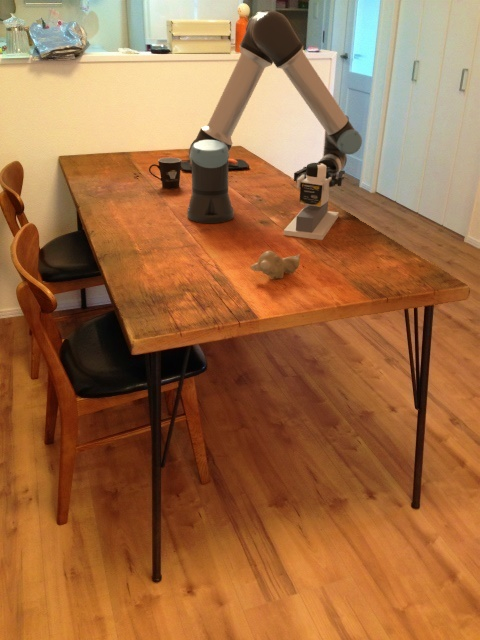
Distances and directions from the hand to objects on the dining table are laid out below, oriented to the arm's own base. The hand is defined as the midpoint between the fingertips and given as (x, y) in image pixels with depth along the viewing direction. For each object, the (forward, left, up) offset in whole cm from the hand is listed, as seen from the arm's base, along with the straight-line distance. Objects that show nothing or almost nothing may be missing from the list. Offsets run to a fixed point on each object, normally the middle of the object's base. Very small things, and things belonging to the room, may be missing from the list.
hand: (311, 185), depth 178 cm
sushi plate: (+45, +82, -15) cm, 94 cm away
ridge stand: (+5, +2, -14) cm, 15 cm away
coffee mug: (+6, +69, -14) cm, 70 cm away
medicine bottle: (+5, +2, -7) cm, 8 cm away
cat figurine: (-36, -14, -14) cm, 41 cm away
